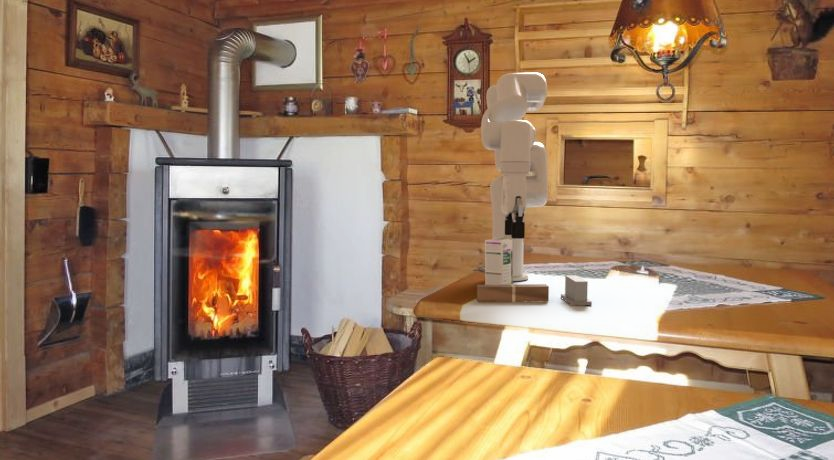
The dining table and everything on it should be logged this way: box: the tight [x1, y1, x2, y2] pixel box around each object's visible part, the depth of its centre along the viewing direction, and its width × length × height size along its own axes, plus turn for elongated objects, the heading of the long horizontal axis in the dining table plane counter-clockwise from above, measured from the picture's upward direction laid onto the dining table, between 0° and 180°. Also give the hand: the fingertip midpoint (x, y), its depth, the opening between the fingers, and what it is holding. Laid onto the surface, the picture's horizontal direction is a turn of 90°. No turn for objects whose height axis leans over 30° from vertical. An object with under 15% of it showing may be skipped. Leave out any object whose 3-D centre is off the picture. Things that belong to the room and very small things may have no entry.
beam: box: [476, 283, 550, 303], centre depth 183 cm, size 4×18×4 cm, turn 93°
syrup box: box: [484, 238, 514, 285], centre depth 198 cm, size 6×6×14 cm
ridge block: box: [560, 274, 593, 306], centre depth 181 cm, size 11×5×6 cm, turn 3°
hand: (514, 236), depth 181 cm, fingers open, 9 cm apart
